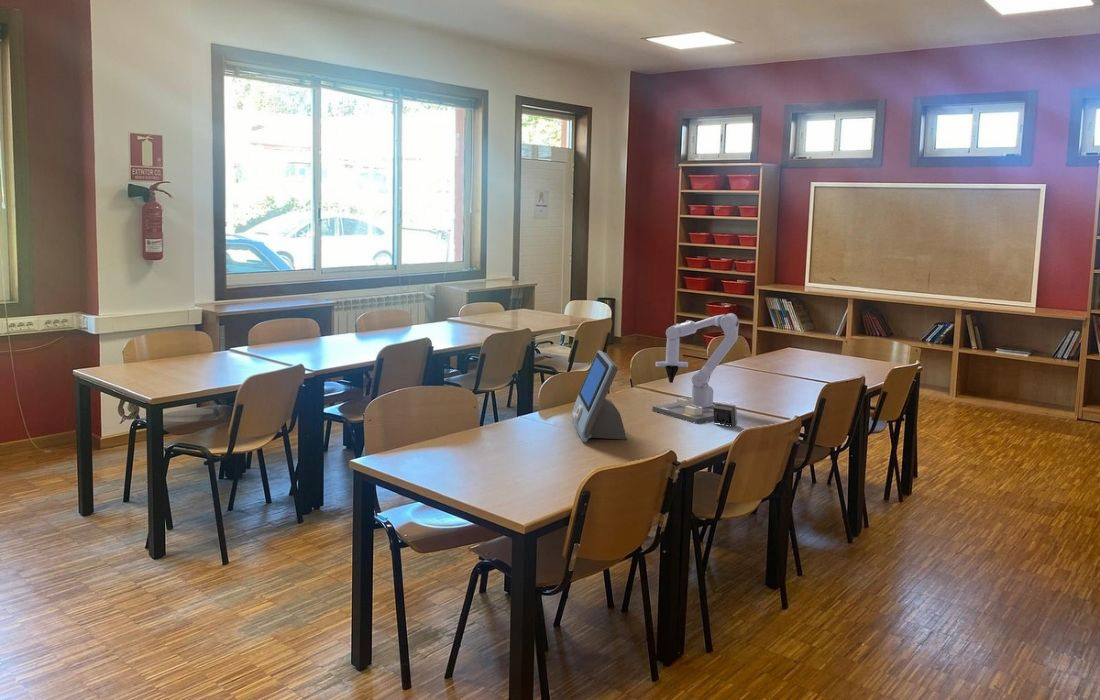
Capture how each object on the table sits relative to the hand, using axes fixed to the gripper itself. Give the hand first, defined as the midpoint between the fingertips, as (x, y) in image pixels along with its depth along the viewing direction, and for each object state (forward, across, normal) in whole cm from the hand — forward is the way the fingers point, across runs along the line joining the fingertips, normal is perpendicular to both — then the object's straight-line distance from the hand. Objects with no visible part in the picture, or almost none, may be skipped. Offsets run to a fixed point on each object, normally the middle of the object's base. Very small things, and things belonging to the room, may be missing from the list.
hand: (670, 382), depth 388 cm
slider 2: (+7, +2, -30) cm, 31 cm away
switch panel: (+9, +2, -23) cm, 25 cm away
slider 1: (+7, +3, -15) cm, 17 cm away
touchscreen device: (+10, -42, -50) cm, 66 cm away
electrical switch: (+10, +12, -41) cm, 44 cm away
